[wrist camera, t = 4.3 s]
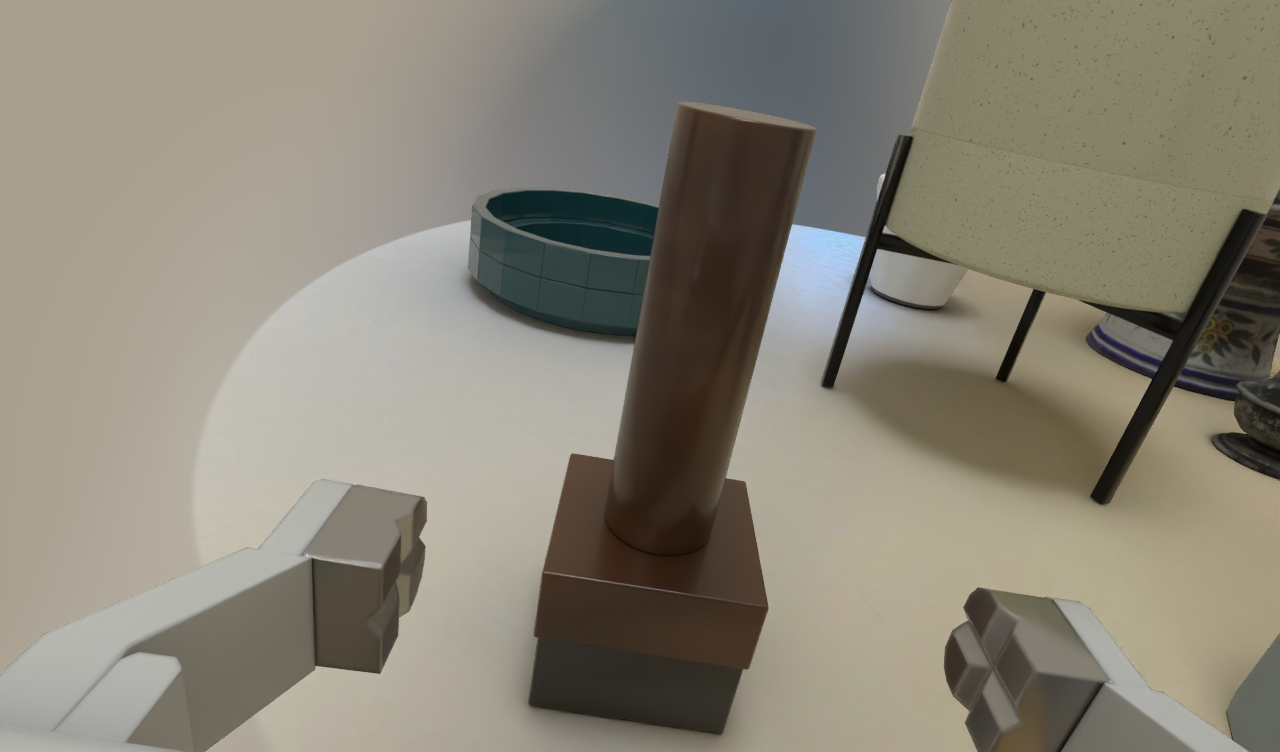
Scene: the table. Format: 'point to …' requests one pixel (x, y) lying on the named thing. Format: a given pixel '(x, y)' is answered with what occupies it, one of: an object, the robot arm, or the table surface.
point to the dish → (564, 255)
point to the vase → (1215, 327)
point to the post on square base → (677, 449)
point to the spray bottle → (1258, 705)
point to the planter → (1091, 165)
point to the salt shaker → (1255, 427)
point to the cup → (913, 277)
